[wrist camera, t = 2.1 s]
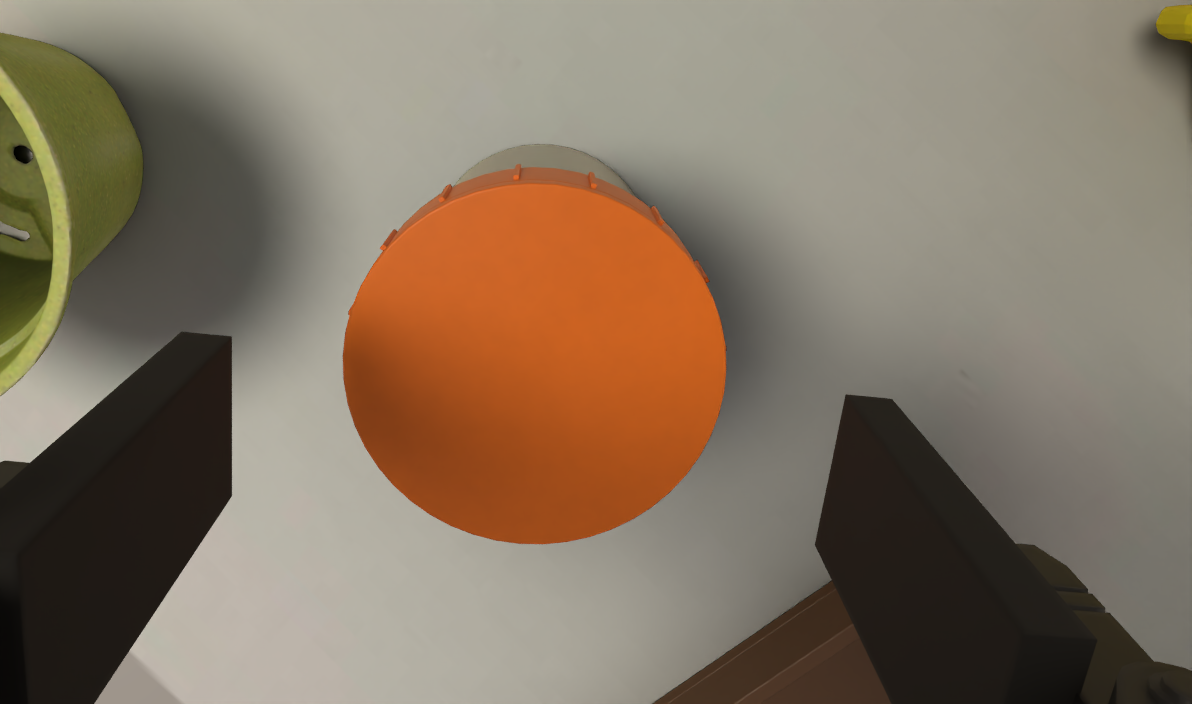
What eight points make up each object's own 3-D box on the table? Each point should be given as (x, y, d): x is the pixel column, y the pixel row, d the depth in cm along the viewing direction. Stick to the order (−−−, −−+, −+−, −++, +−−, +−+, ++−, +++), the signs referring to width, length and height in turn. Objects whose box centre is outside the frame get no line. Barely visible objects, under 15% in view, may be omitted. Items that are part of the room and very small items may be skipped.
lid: (515, 559, 23) (512, 610, 21) (286, 317, 21) (259, 348, 19) (779, 364, 22) (802, 399, 20) (563, 88, 20) (564, 96, 18)
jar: (527, 399, 31) (516, 566, 22) (384, 239, 29) (306, 344, 20) (695, 271, 30) (759, 387, 21) (557, 96, 28) (559, 137, 19)
